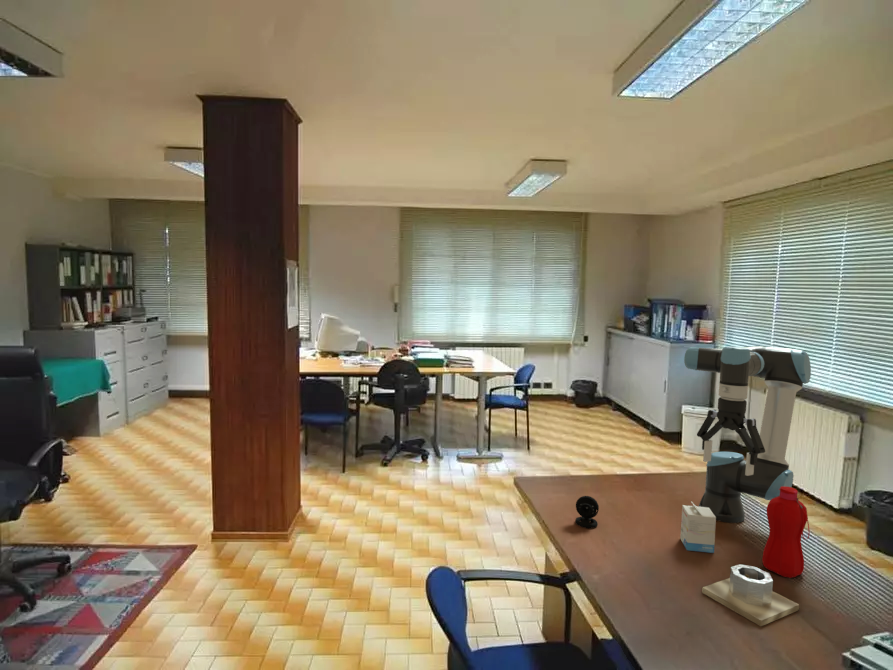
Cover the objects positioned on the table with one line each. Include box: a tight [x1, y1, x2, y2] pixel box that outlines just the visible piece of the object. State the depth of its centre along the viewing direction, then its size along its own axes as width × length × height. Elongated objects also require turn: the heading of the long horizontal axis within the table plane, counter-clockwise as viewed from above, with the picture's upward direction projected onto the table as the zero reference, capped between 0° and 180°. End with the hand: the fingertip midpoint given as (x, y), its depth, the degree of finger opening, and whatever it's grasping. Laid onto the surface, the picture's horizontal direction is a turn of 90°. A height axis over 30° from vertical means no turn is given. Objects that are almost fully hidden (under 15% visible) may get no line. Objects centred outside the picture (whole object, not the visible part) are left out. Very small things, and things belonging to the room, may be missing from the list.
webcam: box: [575, 495, 600, 530], centre depth 182 cm, size 8×8×10 cm
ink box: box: [679, 501, 717, 554], centre depth 169 cm, size 9×8×13 cm
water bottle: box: [761, 486, 810, 579], centre depth 153 cm, size 9×11×25 cm
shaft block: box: [701, 569, 800, 627], centre depth 138 cm, size 16×16×8 cm
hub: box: [729, 564, 774, 607], centre depth 138 cm, size 9×9×6 cm
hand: (727, 467), depth 159 cm, fingers open, 13 cm apart
